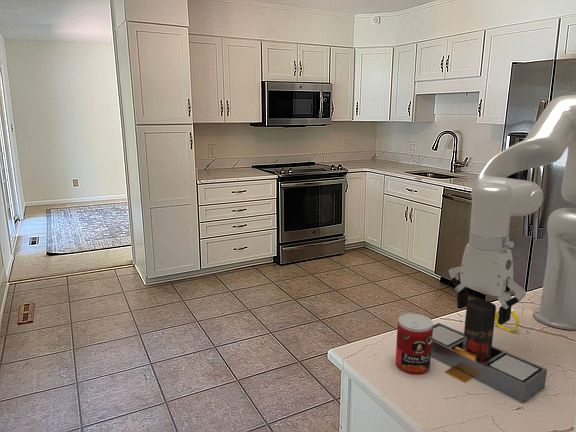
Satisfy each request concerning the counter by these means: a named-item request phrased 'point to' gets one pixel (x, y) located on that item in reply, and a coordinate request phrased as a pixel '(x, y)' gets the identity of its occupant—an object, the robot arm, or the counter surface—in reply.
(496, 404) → the counter surface
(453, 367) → the rack
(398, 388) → the counter surface
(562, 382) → the counter surface
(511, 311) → the watch
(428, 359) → the canned food
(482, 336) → the deodorant
